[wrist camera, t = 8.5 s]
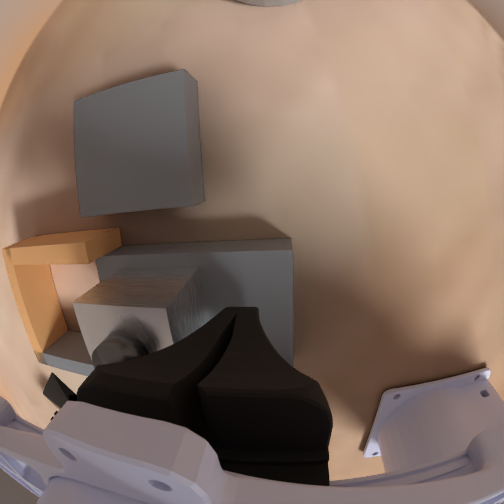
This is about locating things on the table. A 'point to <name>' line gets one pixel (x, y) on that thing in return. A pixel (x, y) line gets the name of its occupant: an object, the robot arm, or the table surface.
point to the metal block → (140, 312)
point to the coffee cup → (269, 2)
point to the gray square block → (139, 146)
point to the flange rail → (141, 256)
